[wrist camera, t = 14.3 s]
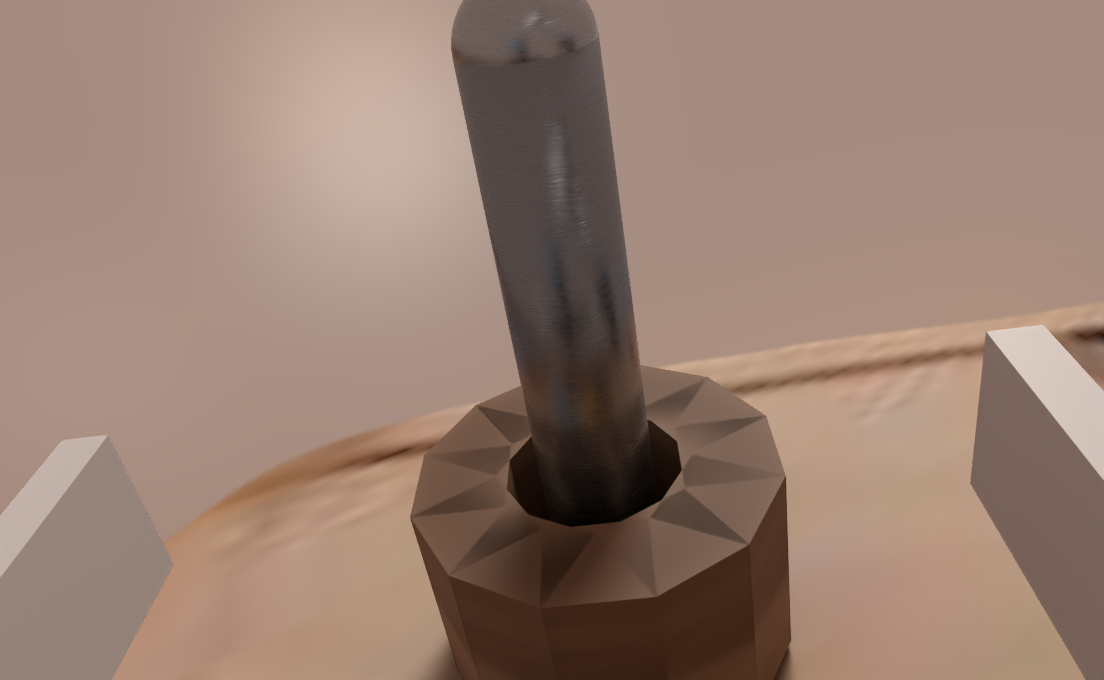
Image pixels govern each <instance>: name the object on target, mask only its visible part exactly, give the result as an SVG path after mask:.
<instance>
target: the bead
mask: <svg viewBox="0 0 1104 680" xmlns="http://www.w3.org/2000/svg"><path fill="white" fill-rule="evenodd" d="M640 367H641V375H642V383H643V391H644V398H645V406H646V414H647V422H648V430H649V438H650V446H651V454H652V462H653V470H654V478H655V486H656V494H657V503H656V504H654V505H652V506H650V507H648V508H646V509H644V510H642V511H640V512H638V513H636V514H634V515H632V516H630V517H629V518H627V519H625V520H623V521H621V522H614V523H604V524H595V525H586V526H576V527H568V526H565V525H561V524H558V523H555V522H551V521H549V516H548V511H547V506H546V501H545V497H544V492H543V487H542V482H541V478H540V473H539V468H538V463H537V458H536V454H535V449H534V444H533V439H532V435H531V430H530V425H529V420H528V416H527V411H526V406H525V401H524V396H523V392H522V387H521V386H519V387H517V388H515V389H512V390H510V391H508V392H505V393H503V394H501V395H498V396H496V397H494V398H492V399H489V400H487V401H485V402H482V403H480V404H478V405H475V407H474V408H473V409H472V410H471V411H470V412H468V413H467V414H466V415H465V416H464V417H463V418H462V419H461V420H460V421H459V422H458V423H457V424H456V425H455V426H454V427H453V428H452V429H451V430H450V431H449V432H448V433H447V434H446V435H445V436H444V437H443V438H442V439H441V440H440V441H439V442H438V443H437V444H436V445H435V446H434V447H433V448H432V449H431V450H430V451H428V452H427V453H426V454H425V455H424V459H423V463H422V468H421V472H420V477H419V481H418V486H417V490H416V494H415V499H414V503H413V508H412V512H411V516H410V518H411V522H412V525H413V528H414V531H415V534H416V538H417V541H418V544H419V547H420V550H421V554H422V557H423V560H424V563H425V566H426V570H427V573H428V576H429V579H430V582H431V586H432V589H433V592H434V595H435V598H436V602H437V605H438V608H439V611H440V614H441V618H442V621H443V624H444V627H445V630H446V634H447V637H448V640H449V643H450V646H451V650H452V653H453V656H454V659H455V662H456V666H457V669H458V672H459V673H460V675H461V676H462V678H463V680H774V678H775V676H776V673H777V671H778V669H779V666H780V664H781V662H782V660H783V657H784V655H785V653H786V650H787V648H788V646H789V643H790V641H791V629H790V597H789V564H788V532H787V500H786V476H785V473H784V470H783V467H782V464H781V460H780V457H779V454H778V451H777V448H776V445H775V442H774V439H773V436H772V433H771V430H770V427H769V424H768V421H767V418H766V416H765V415H764V414H762V413H761V412H759V411H758V410H756V409H755V408H753V407H752V406H750V405H749V404H747V403H746V402H744V401H743V400H741V399H740V398H738V397H737V396H735V395H734V394H732V393H731V392H729V391H728V390H726V389H725V388H723V387H722V386H720V385H719V384H717V383H716V382H714V381H713V380H711V379H710V378H708V377H703V376H698V375H692V374H687V373H681V372H675V371H670V370H664V369H659V368H653V367H647V366H642V365H640Z"/></svg>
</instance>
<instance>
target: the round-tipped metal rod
mask: <svg viewBox="0 0 1104 680" xmlns="http://www.w3.org/2000/svg"><path fill="white" fill-rule="evenodd" d="M451 50H452V57H453V62H454V67H455V72H456V76H457V82H458V86H459V91H460V96H461V101H462V105H463V110H464V115H465V120H466V124H467V129H468V133H469V138H470V143H471V148H472V153H473V157H474V162H475V167H476V172H477V177H478V182H479V186H480V191H481V196H482V201H483V206H484V210H485V215H486V220H487V225H488V229H489V234H490V239H491V244H492V248H493V253H494V258H495V263H496V268H497V272H498V277H499V282H500V286H501V291H502V296H503V301H504V306H505V310H506V315H507V320H508V325H509V329H510V334H511V339H512V343H513V349H514V354H515V358H516V363H517V368H518V373H519V377H520V382H521V387H522V392H523V396H524V401H525V406H526V411H527V416H528V420H529V425H530V430H531V435H532V439H533V444H534V449H535V454H536V458H537V463H538V468H539V473H540V478H541V482H542V487H543V492H544V497H545V501H546V506H547V511H548V516H549V521H551V522H555V523H558V524H561V525H565V526H568V527H576V526H586V525H595V524H604V523H614V522H621V521H623V520H625V519H627V518H629V517H630V516H632V515H634V514H636V513H638V512H640V511H642V510H644V509H646V508H648V507H650V506H652V505H654V504H656V503H657V494H656V486H655V478H654V470H653V462H652V454H651V446H650V438H649V430H648V422H647V414H646V406H645V398H644V391H643V383H642V375H641V367H640V359H639V351H638V343H637V335H636V327H635V319H634V312H633V304H632V296H631V288H630V279H629V272H628V264H627V255H626V247H625V240H624V232H623V224H622V216H621V208H620V200H619V193H618V184H617V176H616V169H615V160H614V152H613V144H612V136H611V128H610V120H609V112H608V105H607V96H606V89H605V81H604V73H603V65H602V57H601V49H600V41H599V34H598V28H597V23H596V20H595V17H594V14H593V12H592V10H591V8H590V6H589V4H588V2H587V1H586V0H463V2H462V3H461V5H460V7H459V9H458V12H457V14H456V17H455V20H454V25H453V29H452V37H451Z"/></svg>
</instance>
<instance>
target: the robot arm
mask: <svg viewBox="0 0 1104 680" xmlns="http://www.w3.org/2000/svg"><path fill="white" fill-rule="evenodd" d="M970 484H971V485H972V487H973V489H974V490H975V492H976V494H977V495H978V497H979V499H980V501H981V502H982V504H983V506H984V507H985V509H986V511H987V512H988V514H989V516H990V518H991V519H992V521H993V523H994V524H995V526H996V528H997V529H998V531H999V533H1000V535H1001V536H1002V538H1003V540H1004V541H1005V543H1006V545H1007V546H1008V548H1009V550H1010V552H1011V553H1012V555H1013V557H1014V558H1015V560H1016V562H1017V564H1018V565H1019V567H1020V569H1021V570H1022V572H1023V574H1024V575H1025V577H1026V579H1027V581H1028V582H1029V584H1030V586H1031V587H1032V589H1033V591H1034V592H1035V594H1036V596H1037V598H1038V599H1039V601H1040V603H1041V604H1042V606H1043V608H1044V609H1045V611H1046V613H1047V615H1048V616H1049V618H1050V620H1051V621H1052V623H1053V625H1054V626H1055V628H1056V630H1057V632H1058V633H1059V635H1060V637H1061V638H1062V640H1063V642H1064V643H1065V645H1066V647H1067V649H1068V650H1069V652H1070V654H1071V655H1072V657H1073V659H1074V660H1075V662H1076V664H1077V666H1078V667H1079V669H1080V671H1081V672H1082V674H1083V676H1084V677H1085V679H1086V680H1104V391H1103V390H1102V389H1101V388H1100V387H1099V386H1098V385H1097V383H1096V382H1095V381H1094V380H1093V379H1092V378H1091V377H1090V376H1089V375H1088V374H1087V372H1086V371H1085V370H1084V369H1083V368H1082V367H1081V366H1080V365H1079V364H1078V363H1077V362H1076V360H1075V359H1074V358H1073V357H1072V356H1071V355H1070V354H1069V353H1068V352H1067V351H1066V349H1065V348H1064V347H1063V346H1062V345H1061V344H1060V343H1059V342H1058V341H1057V340H1056V339H1055V337H1054V336H1053V335H1052V334H1051V333H1050V332H1049V331H1048V330H1047V329H1046V328H1045V326H1044V325H1038V326H1029V327H1021V328H1012V329H1004V330H995V331H987V332H986V337H985V347H984V357H983V366H982V376H981V386H980V395H979V405H978V415H977V424H976V434H975V443H974V453H973V463H972V472H971V482H970ZM173 565H174V564H173V562H172V560H171V558H170V556H169V554H168V552H167V550H166V548H165V546H164V544H163V542H162V540H161V538H160V536H159V534H158V532H157V530H156V528H155V526H154V524H153V522H152V520H151V518H150V516H149V514H148V512H147V510H146V508H145V506H144V504H143V502H142V500H141V498H140V496H139V494H138V493H137V491H136V489H135V487H134V485H133V483H132V481H131V479H130V477H129V475H128V473H127V471H126V469H125V467H124V465H123V463H122V461H121V459H120V457H119V455H118V453H117V451H116V449H115V447H114V445H113V443H112V441H111V439H110V437H109V435H104V436H94V437H86V438H78V439H69V440H62V441H61V442H60V444H59V445H58V446H57V447H56V448H55V450H54V451H53V452H52V453H51V455H50V456H49V457H48V458H47V459H46V461H45V462H44V463H43V464H42V466H41V467H40V468H39V469H38V470H37V472H36V473H35V474H34V475H33V476H32V478H31V479H30V480H29V482H27V484H26V485H25V486H24V487H23V489H22V490H21V491H20V492H19V493H18V495H17V496H16V497H15V498H14V500H13V501H12V502H11V503H10V504H9V506H8V507H7V508H6V509H5V510H4V512H3V513H2V514H1V515H0V680H112V678H113V676H114V674H115V672H116V670H117V668H118V667H119V665H120V663H121V661H122V659H123V657H124V655H125V654H126V652H127V650H128V648H129V646H130V644H131V642H132V641H133V639H134V637H135V635H136V633H137V631H138V630H139V628H140V626H141V624H142V622H143V620H144V618H145V617H146V615H147V613H148V611H149V609H150V607H151V605H152V604H153V602H154V600H155V598H156V596H157V594H158V592H159V591H160V589H161V587H162V585H163V583H164V581H165V579H166V578H167V576H168V574H169V572H170V570H171V568H172V566H173Z"/></svg>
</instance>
